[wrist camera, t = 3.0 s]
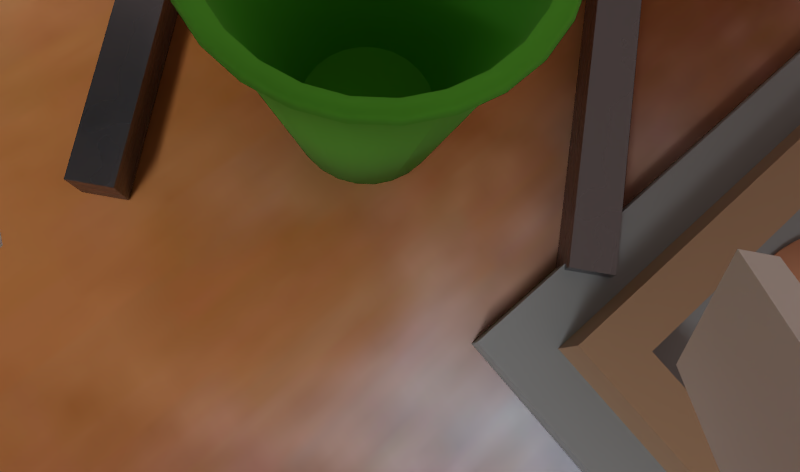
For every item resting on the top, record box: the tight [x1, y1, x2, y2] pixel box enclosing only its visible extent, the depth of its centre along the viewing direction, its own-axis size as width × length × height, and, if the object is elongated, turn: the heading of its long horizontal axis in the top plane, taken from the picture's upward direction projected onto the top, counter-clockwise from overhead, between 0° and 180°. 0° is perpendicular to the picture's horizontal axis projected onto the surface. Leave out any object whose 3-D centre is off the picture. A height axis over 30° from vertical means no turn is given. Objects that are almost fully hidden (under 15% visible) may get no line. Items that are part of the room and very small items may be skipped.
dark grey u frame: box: [64, 0, 642, 278], centre depth 24 cm, size 14×18×2 cm
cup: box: [170, 0, 582, 184], centre depth 19 cm, size 9×9×11 cm
